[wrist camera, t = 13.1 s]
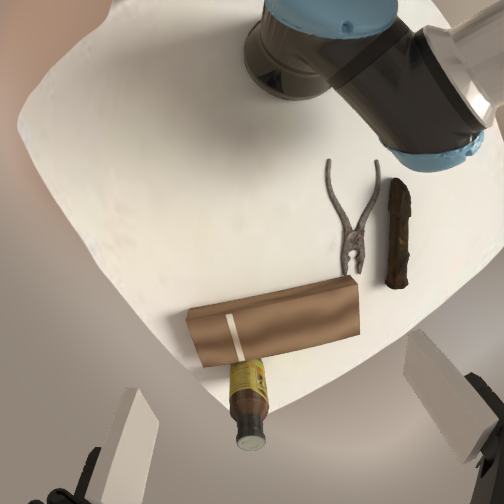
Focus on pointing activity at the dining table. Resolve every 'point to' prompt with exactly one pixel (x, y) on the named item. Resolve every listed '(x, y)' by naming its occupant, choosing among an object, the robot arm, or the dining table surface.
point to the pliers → (351, 237)
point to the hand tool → (398, 234)
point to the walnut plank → (275, 322)
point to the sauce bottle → (248, 402)
